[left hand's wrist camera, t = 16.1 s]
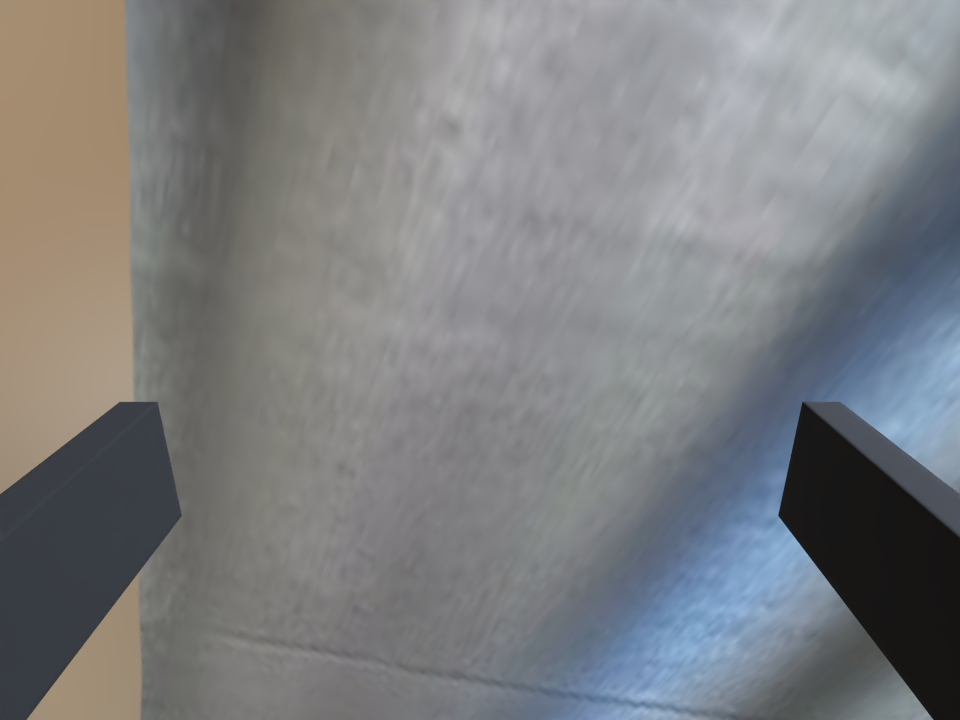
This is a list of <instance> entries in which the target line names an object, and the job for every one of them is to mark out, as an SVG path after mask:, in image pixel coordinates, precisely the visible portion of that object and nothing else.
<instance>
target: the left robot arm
mask: <svg viewBox="0 0 960 720" xmlns="http://www.w3.org/2000/svg"><path fill="white" fill-rule="evenodd" d="M181 516H182V515H181V510H180V506H179V501H178V496H177V492H176V487H175V482H174V477H173V473H172V468H171V463H170V458H169V454H168V449H167V444H166V440H165V435H164V430H163V425H162V421H161V416H160V411H159V407H158V402H119V403H118V404H117V405H115V406H114V407H113V408H112V409H110V410H109V411H108V412H106V413H105V414H104V415H103V416H101V417H100V418H99V419H97V420H96V421H95V422H93V423H92V424H91V425H90V426H88V427H87V428H86V429H84V430H83V431H82V432H80V433H79V434H78V435H77V436H75V437H74V438H73V439H71V440H70V441H69V442H68V443H66V444H65V445H64V446H62V447H61V448H60V449H58V450H57V451H56V452H55V453H53V454H52V455H51V456H50V457H48V458H47V459H46V460H44V461H43V462H42V463H40V464H39V465H38V466H36V467H35V468H34V469H33V470H31V471H30V472H29V473H27V474H26V475H25V476H24V477H22V478H21V479H20V480H18V481H17V482H16V483H15V484H13V485H12V486H11V487H9V488H8V489H7V490H5V491H4V492H3V493H2V494H0V720H27V718H28V717H29V716H30V714H31V713H32V712H33V710H34V709H35V708H36V706H37V705H38V704H39V702H40V701H41V700H42V698H43V697H44V696H45V695H46V693H47V692H48V691H49V689H50V688H51V687H52V685H53V684H54V683H55V681H56V680H57V679H58V677H59V676H60V675H61V674H62V672H63V671H64V670H65V668H66V667H67V666H68V664H69V663H70V662H71V660H72V659H73V658H74V656H75V655H76V654H77V653H78V651H79V650H80V649H81V647H82V646H83V645H84V643H85V642H86V641H87V639H88V638H89V637H90V635H91V634H92V633H93V631H94V630H95V629H96V628H97V626H98V625H99V624H100V622H101V621H102V620H103V618H104V617H105V616H106V614H107V613H108V612H109V610H110V609H111V608H112V607H113V605H114V604H115V603H116V601H117V600H118V599H119V597H120V596H121V595H122V593H123V592H124V591H125V589H126V588H127V587H128V586H129V584H130V583H131V582H132V580H133V579H134V578H135V576H136V575H137V574H138V572H139V571H140V570H141V568H142V567H143V566H144V565H145V563H146V562H147V561H148V559H149V558H150V557H151V555H152V554H153V553H154V551H155V550H156V549H157V547H158V546H159V545H160V543H161V542H162V541H163V540H164V538H165V537H166V536H167V534H168V533H169V532H170V530H171V529H172V528H173V526H174V525H175V524H176V522H177V521H178V520H179V519H180V517H181ZM778 516H779V517H780V519H781V520H782V521H783V522H784V524H785V525H786V526H787V528H788V529H789V530H790V532H791V533H792V534H793V536H794V537H795V538H796V540H797V541H798V542H799V543H800V545H801V546H802V547H803V549H804V550H805V551H806V553H807V554H808V555H809V557H810V558H811V559H812V561H813V562H814V563H815V565H816V566H817V567H818V568H819V570H820V571H821V572H822V574H823V575H824V576H825V578H826V579H827V580H828V582H829V583H830V584H831V586H832V587H833V588H834V589H835V591H836V592H837V593H838V595H839V596H840V597H841V599H842V600H843V601H844V603H845V604H846V605H847V607H848V608H849V609H850V610H851V612H852V613H853V614H854V616H855V617H856V618H857V620H858V621H859V622H860V624H861V625H862V626H863V628H864V629H865V630H866V632H867V633H868V634H869V635H870V637H871V638H872V639H873V641H874V642H875V643H876V645H877V646H878V647H879V649H880V650H881V651H882V653H883V654H884V655H885V656H886V658H887V659H888V660H889V662H890V663H891V664H892V666H893V667H894V668H895V670H896V671H897V672H898V674H899V675H900V676H901V677H902V679H903V680H904V681H905V683H906V684H907V685H908V687H909V688H910V689H911V691H912V692H913V693H914V695H915V696H916V697H917V699H918V700H919V701H920V702H921V704H922V705H923V706H924V708H925V709H926V710H927V712H928V713H929V714H930V716H931V717H932V718H933V720H960V494H958V493H957V492H956V491H955V490H953V489H952V488H951V487H949V486H948V485H947V484H946V483H944V482H943V481H942V480H940V479H939V478H938V477H936V476H935V475H934V474H933V473H931V472H930V471H929V470H927V469H926V468H925V467H924V466H922V465H921V464H920V463H918V462H917V461H916V460H914V459H913V458H912V457H911V456H909V455H908V454H907V453H905V452H904V451H903V450H902V449H900V448H899V447H898V446H896V445H895V444H894V443H892V442H891V441H890V440H889V439H887V438H886V437H885V436H883V435H882V434H881V433H880V432H878V431H877V430H876V429H874V428H873V427H872V426H870V425H869V424H868V423H867V422H865V421H864V420H863V419H861V418H860V417H859V416H858V415H856V414H855V413H854V412H852V411H851V410H850V409H848V408H847V407H846V406H845V405H843V404H842V403H841V402H802V407H801V411H800V416H799V421H798V425H797V430H796V435H795V440H794V444H793V449H792V454H791V458H790V463H789V468H788V473H787V477H786V482H785V487H784V492H783V496H782V501H781V506H780V510H779V515H778Z"/></svg>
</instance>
